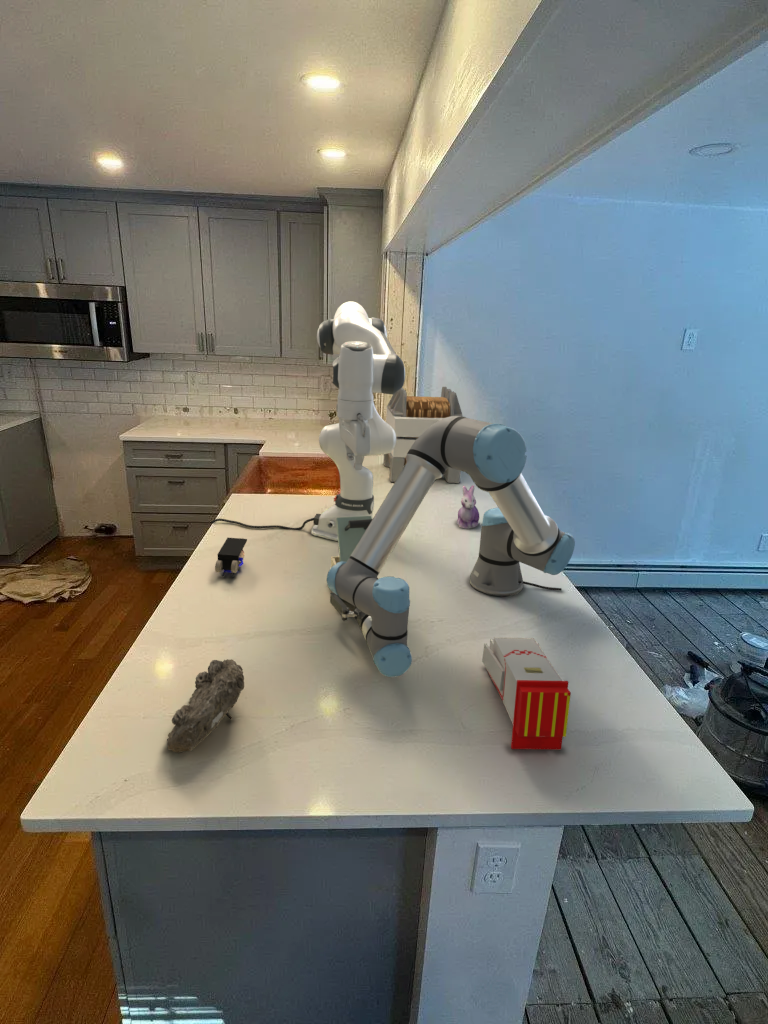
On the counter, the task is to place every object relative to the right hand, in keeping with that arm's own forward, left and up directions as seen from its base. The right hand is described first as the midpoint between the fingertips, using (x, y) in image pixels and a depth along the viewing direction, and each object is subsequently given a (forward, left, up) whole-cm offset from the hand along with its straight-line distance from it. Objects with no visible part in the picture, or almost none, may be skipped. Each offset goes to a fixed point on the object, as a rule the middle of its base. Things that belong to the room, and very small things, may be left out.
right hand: (356, 581), depth 149 cm
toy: (-24, +46, -7) cm, 52 cm away
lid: (0, -1, +9) cm, 9 cm away
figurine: (-54, -51, -7) cm, 74 cm away
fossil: (+36, +38, -7) cm, 52 cm away
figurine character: (+31, -27, -7) cm, 42 cm away
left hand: (0, -6, +30) cm, 31 cm away
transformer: (-58, -120, -7) cm, 134 cm away
